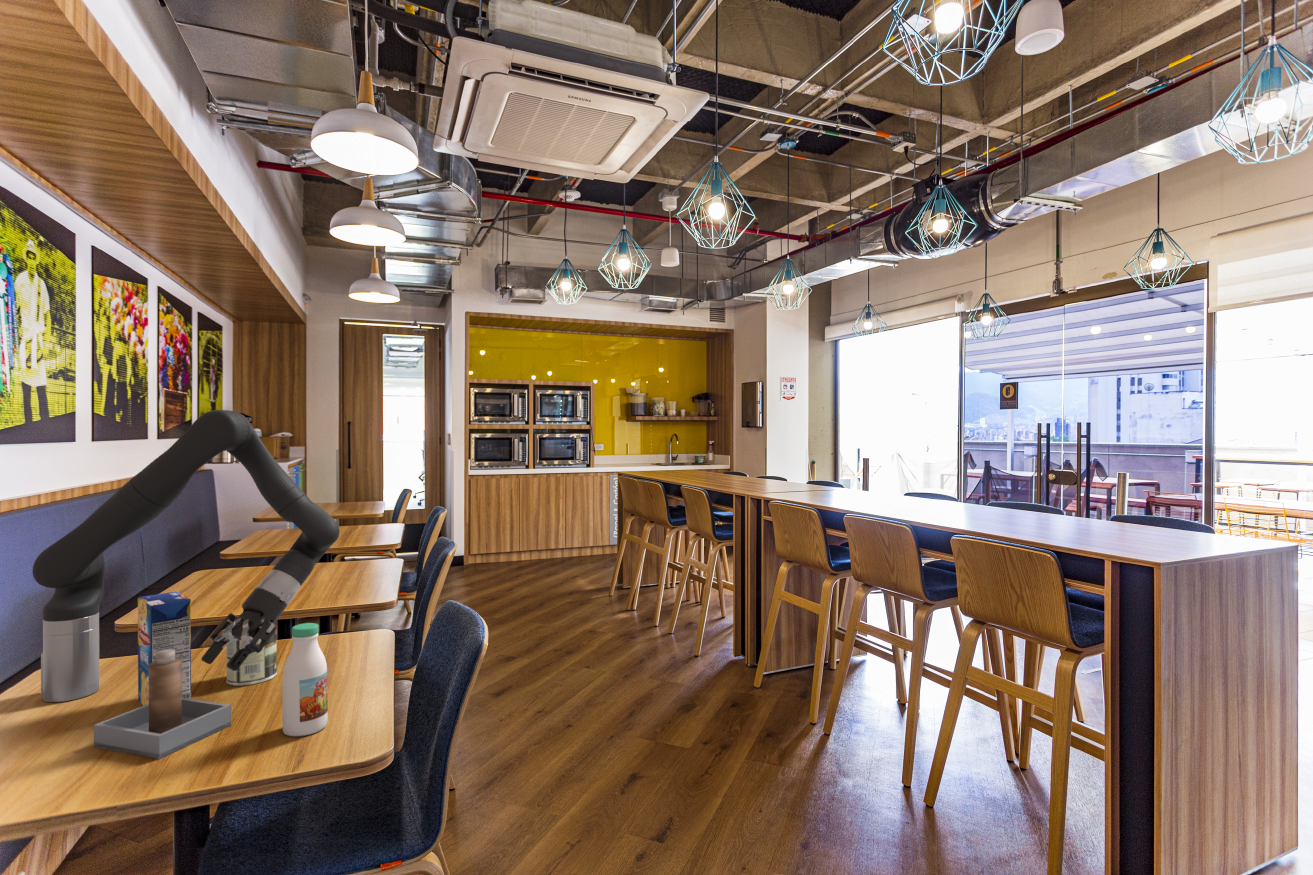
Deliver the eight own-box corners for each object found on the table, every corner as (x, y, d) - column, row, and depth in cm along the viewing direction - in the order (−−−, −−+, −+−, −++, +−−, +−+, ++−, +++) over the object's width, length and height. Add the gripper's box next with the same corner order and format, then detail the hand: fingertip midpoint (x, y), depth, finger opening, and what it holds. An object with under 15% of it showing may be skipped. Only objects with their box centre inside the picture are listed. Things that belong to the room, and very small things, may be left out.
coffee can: (263, 667, 162) (262, 609, 162) (285, 675, 156) (285, 615, 156) (216, 680, 153) (216, 619, 153) (239, 689, 148) (239, 626, 148)
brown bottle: (142, 734, 124) (141, 654, 123) (168, 723, 128) (168, 646, 128) (162, 738, 122) (162, 657, 122) (188, 727, 127) (188, 649, 127)
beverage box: (151, 713, 135) (150, 605, 135) (138, 699, 142) (137, 597, 142) (191, 703, 140) (190, 599, 140) (176, 690, 147) (176, 591, 147)
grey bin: (93, 746, 121) (93, 724, 121) (169, 715, 134) (169, 695, 134) (159, 758, 116) (159, 736, 116) (231, 725, 130) (231, 704, 130)
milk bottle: (281, 740, 123) (281, 633, 123) (283, 724, 130) (283, 623, 130) (328, 732, 127) (327, 628, 126) (327, 717, 133) (327, 618, 133)
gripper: (239, 583, 144) (183, 651, 134) (281, 589, 138) (225, 661, 128) (263, 601, 149) (210, 668, 139) (305, 609, 143) (252, 679, 133)
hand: (217, 665), depth 133 cm, fingers open, 8 cm apart
